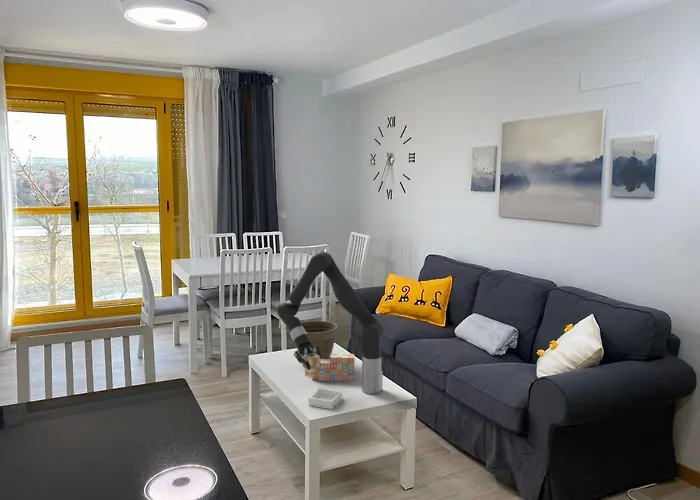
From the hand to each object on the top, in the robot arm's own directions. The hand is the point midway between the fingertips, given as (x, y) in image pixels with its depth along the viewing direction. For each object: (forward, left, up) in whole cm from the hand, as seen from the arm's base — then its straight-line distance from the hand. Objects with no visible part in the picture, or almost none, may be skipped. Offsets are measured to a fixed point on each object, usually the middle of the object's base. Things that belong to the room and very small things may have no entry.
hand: (314, 367), depth 263 cm
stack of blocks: (-1, -21, -13) cm, 24 cm away
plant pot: (+17, -36, -13) cm, 42 cm away
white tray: (-9, +8, -12) cm, 18 cm away
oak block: (+2, -1, -4) cm, 5 cm away
